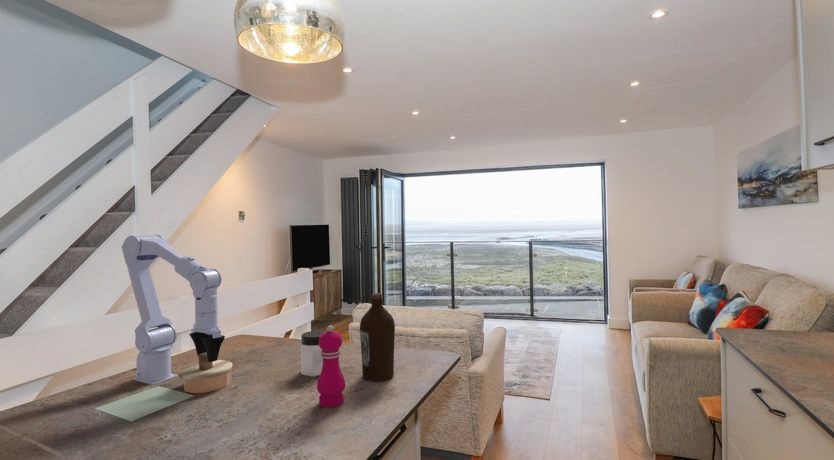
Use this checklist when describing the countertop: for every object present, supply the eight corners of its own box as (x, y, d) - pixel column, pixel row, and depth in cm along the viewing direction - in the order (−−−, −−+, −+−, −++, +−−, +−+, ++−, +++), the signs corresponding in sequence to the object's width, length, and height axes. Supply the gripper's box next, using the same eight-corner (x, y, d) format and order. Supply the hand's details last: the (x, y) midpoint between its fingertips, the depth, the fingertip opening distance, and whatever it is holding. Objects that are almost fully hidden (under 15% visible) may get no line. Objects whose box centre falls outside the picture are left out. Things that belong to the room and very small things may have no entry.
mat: (94, 410, 104) (94, 408, 104) (158, 387, 118) (158, 386, 118) (131, 423, 97) (131, 421, 97) (194, 397, 111) (194, 395, 111)
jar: (305, 378, 124) (304, 339, 123) (297, 371, 130) (296, 333, 130) (333, 372, 128) (333, 334, 128) (324, 365, 135) (323, 329, 135)
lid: (166, 375, 116) (166, 358, 115) (210, 360, 128) (210, 345, 128) (200, 383, 109) (199, 365, 109) (243, 366, 122) (242, 350, 122)
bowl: (174, 389, 117) (174, 374, 116) (212, 375, 127) (212, 361, 127) (202, 397, 111) (202, 380, 111) (239, 381, 122) (239, 366, 122)
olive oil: (389, 367, 132) (387, 290, 132) (400, 379, 122) (399, 295, 122) (356, 373, 128) (355, 292, 127) (366, 385, 118) (364, 298, 118)
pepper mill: (350, 398, 109) (349, 323, 109) (336, 410, 102) (335, 329, 102) (326, 395, 111) (325, 321, 111) (311, 406, 104) (310, 327, 104)
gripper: (182, 310, 121) (183, 356, 121) (201, 317, 111) (202, 367, 111) (207, 307, 126) (208, 351, 126) (228, 313, 116) (229, 361, 117)
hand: (207, 358), depth 119 cm, fingers open, 7 cm apart
